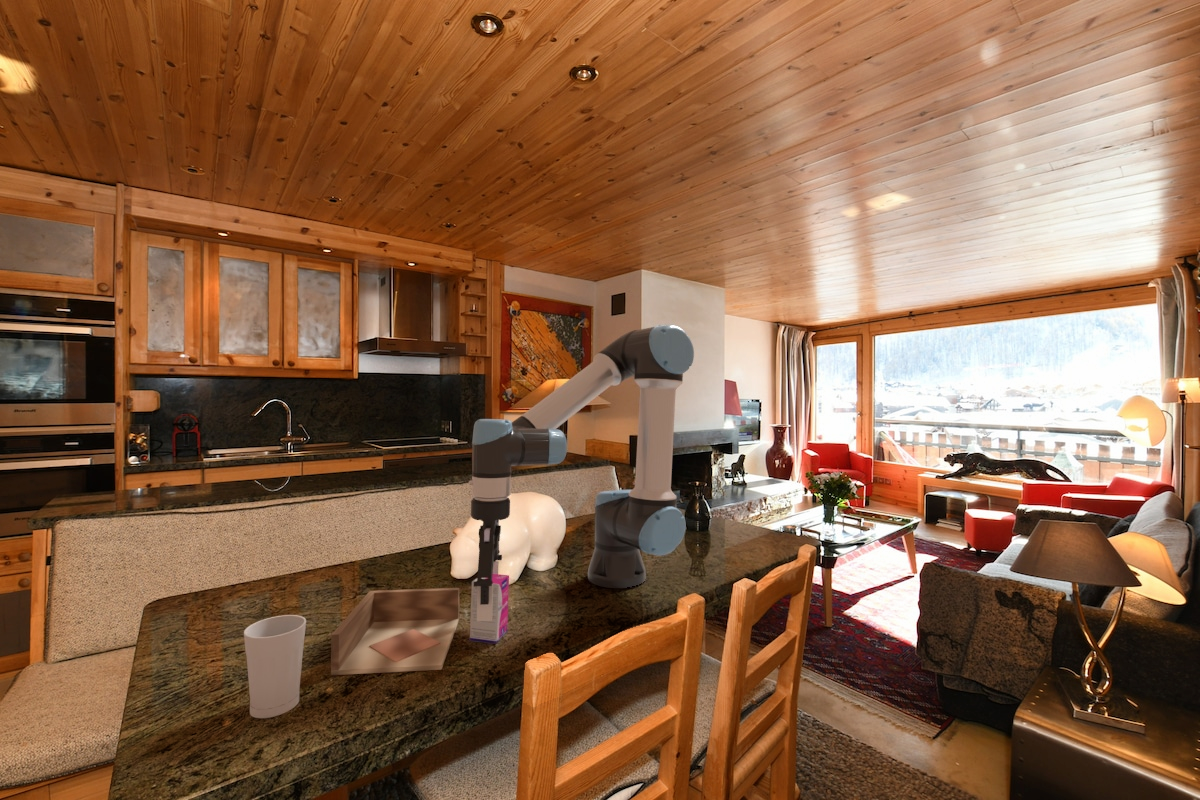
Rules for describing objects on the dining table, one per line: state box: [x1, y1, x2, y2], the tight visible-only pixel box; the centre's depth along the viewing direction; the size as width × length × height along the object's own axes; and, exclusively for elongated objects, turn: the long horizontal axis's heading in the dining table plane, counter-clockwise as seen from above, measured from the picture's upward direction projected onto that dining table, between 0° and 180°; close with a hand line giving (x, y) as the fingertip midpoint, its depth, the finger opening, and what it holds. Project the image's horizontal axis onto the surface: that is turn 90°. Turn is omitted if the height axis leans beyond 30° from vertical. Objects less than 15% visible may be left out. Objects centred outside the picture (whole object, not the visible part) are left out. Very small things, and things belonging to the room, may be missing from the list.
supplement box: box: [469, 573, 510, 645], centre depth 101 cm, size 6×6×12 cm
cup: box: [243, 614, 307, 719], centre depth 78 cm, size 8×8×12 cm
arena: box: [330, 587, 460, 676], centre depth 97 cm, size 18×20×7 cm
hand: (488, 605), depth 101 cm, fingers open, 13 cm apart
